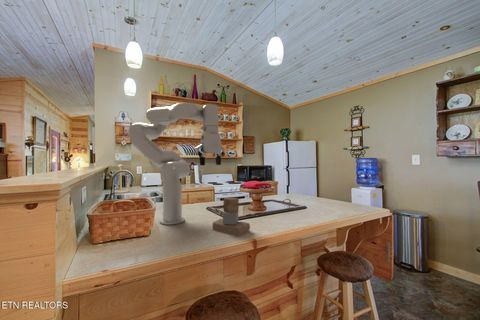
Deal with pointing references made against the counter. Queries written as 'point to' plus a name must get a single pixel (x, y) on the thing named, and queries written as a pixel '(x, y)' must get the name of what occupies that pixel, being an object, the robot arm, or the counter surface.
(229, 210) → the walnut block
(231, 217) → the slate block
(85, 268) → the counter surface
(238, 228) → the brick
